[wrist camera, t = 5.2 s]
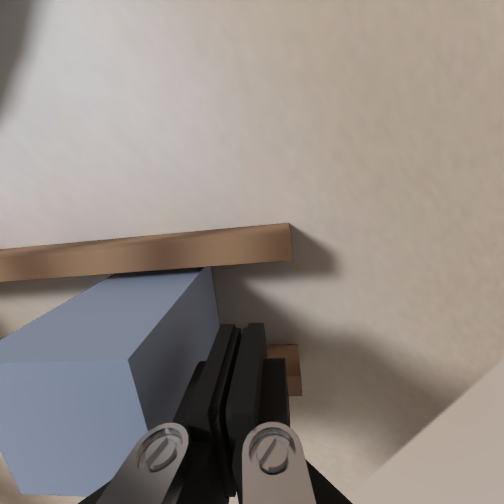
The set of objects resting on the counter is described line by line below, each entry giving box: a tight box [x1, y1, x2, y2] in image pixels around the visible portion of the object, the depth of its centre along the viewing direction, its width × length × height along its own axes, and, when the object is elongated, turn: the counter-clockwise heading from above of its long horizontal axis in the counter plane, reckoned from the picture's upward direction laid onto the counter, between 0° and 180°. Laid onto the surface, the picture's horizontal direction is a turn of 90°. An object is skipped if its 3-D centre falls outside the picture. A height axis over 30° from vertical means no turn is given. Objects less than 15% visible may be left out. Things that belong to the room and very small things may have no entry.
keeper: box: [0, 266, 220, 497], centre depth 11 cm, size 5×5×8 cm
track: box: [0, 223, 302, 396], centre depth 13 cm, size 25×8×6 cm, turn 96°
